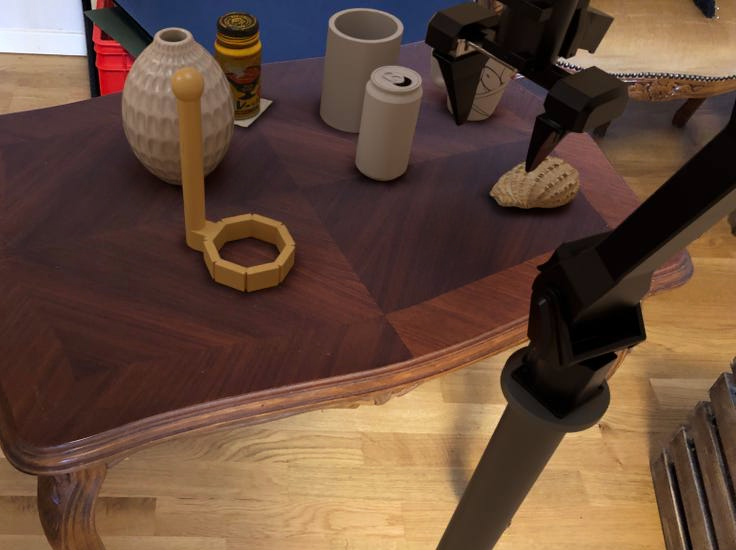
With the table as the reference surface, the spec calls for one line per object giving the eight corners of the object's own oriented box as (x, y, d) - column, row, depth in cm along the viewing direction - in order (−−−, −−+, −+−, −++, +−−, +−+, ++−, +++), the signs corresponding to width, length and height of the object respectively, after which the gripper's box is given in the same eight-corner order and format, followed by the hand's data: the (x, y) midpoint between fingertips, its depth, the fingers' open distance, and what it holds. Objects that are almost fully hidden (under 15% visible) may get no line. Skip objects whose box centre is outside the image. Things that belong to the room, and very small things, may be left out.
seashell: (528, 246, 84) (591, 190, 84) (528, 217, 78) (595, 158, 79) (480, 211, 88) (540, 158, 88) (477, 182, 82) (541, 125, 83)
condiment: (247, 128, 93) (248, 38, 84) (192, 110, 96) (187, 21, 87) (272, 103, 97) (276, 14, 88) (219, 86, 100) (217, -2, 91)
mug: (408, 103, 98) (423, 31, 90) (437, 79, 102) (453, 9, 95) (484, 133, 94) (506, 60, 86) (511, 106, 98) (534, 34, 90)
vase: (247, 193, 84) (249, 57, 72) (140, 210, 82) (122, 72, 69) (220, 134, 92) (217, 2, 79) (121, 148, 90) (102, 14, 77)
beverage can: (386, 191, 85) (404, 98, 76) (343, 169, 88) (356, 77, 79) (415, 168, 88) (436, 76, 79) (373, 147, 91) (389, 57, 82)
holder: (304, 248, 78) (321, 76, 63) (269, 301, 73) (278, 127, 58) (204, 214, 82) (197, 43, 66) (163, 262, 76) (145, 89, 61)
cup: (385, 136, 93) (402, 46, 84) (316, 128, 94) (325, 38, 84) (388, 99, 99) (404, 12, 89) (323, 93, 99) (332, 5, 90)
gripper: (712, -2, 55) (626, 169, 67) (529, -79, 65) (483, 82, 77) (619, 33, 51) (546, 209, 63) (439, -55, 61) (406, 111, 73)
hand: (494, 146), depth 69 cm, fingers open, 9 cm apart
